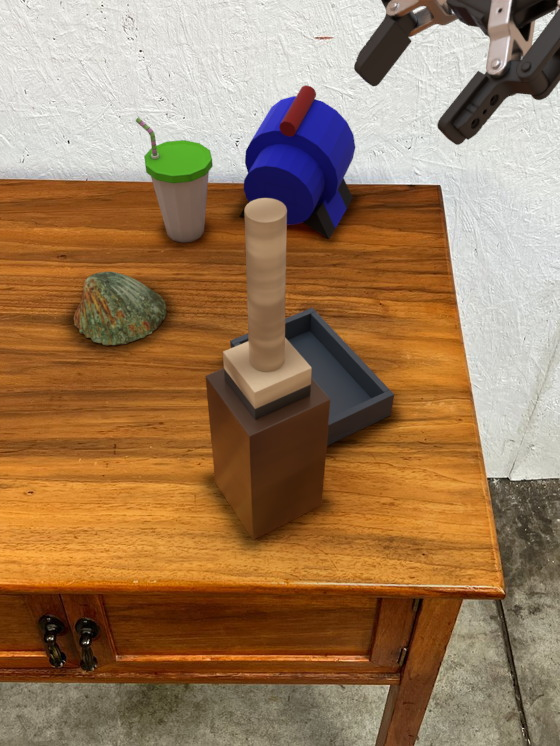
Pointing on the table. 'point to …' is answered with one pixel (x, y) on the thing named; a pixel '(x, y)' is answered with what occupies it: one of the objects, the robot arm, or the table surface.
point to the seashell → (118, 309)
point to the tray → (337, 375)
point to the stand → (268, 456)
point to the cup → (179, 184)
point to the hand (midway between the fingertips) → (403, 106)
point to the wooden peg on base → (266, 319)
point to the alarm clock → (302, 161)
